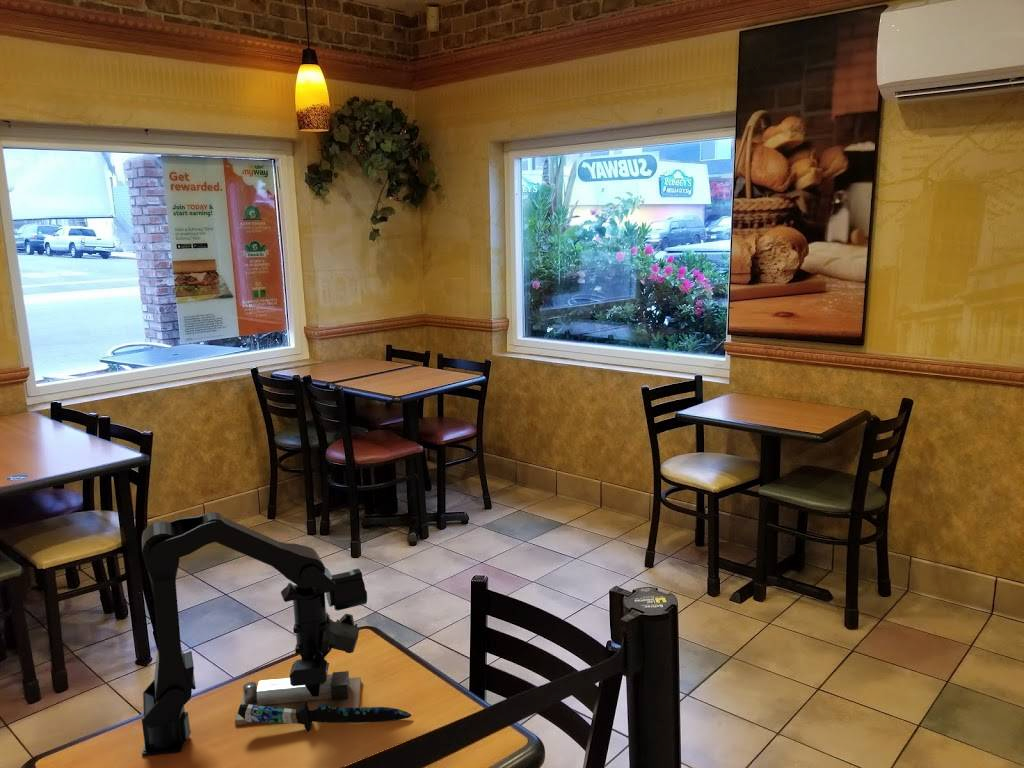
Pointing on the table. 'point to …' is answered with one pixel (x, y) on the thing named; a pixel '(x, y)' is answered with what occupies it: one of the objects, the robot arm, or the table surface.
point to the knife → (319, 714)
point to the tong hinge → (250, 693)
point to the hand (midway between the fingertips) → (316, 690)
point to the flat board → (316, 701)
